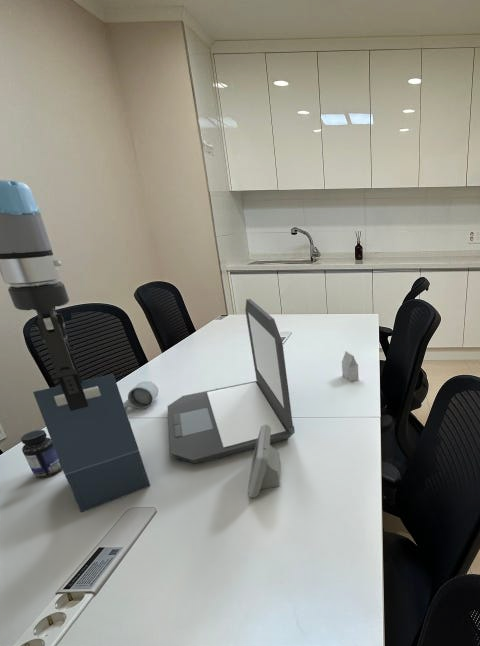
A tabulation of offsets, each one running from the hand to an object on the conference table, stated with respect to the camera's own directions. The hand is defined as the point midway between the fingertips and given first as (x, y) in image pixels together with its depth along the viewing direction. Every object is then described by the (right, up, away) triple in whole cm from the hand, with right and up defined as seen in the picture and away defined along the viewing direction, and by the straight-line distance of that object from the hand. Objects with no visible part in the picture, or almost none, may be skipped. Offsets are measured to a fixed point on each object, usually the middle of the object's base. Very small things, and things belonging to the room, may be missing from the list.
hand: (76, 395), depth 74 cm
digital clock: (+30, -21, +20) cm, 42 cm away
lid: (-4, -6, +9) cm, 11 cm away
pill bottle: (-25, -20, +24) cm, 41 cm away
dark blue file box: (-7, -21, +20) cm, 30 cm away
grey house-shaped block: (+49, +4, +75) cm, 89 cm away
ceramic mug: (-22, -5, +58) cm, 63 cm away
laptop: (+12, -10, +46) cm, 48 cm away
